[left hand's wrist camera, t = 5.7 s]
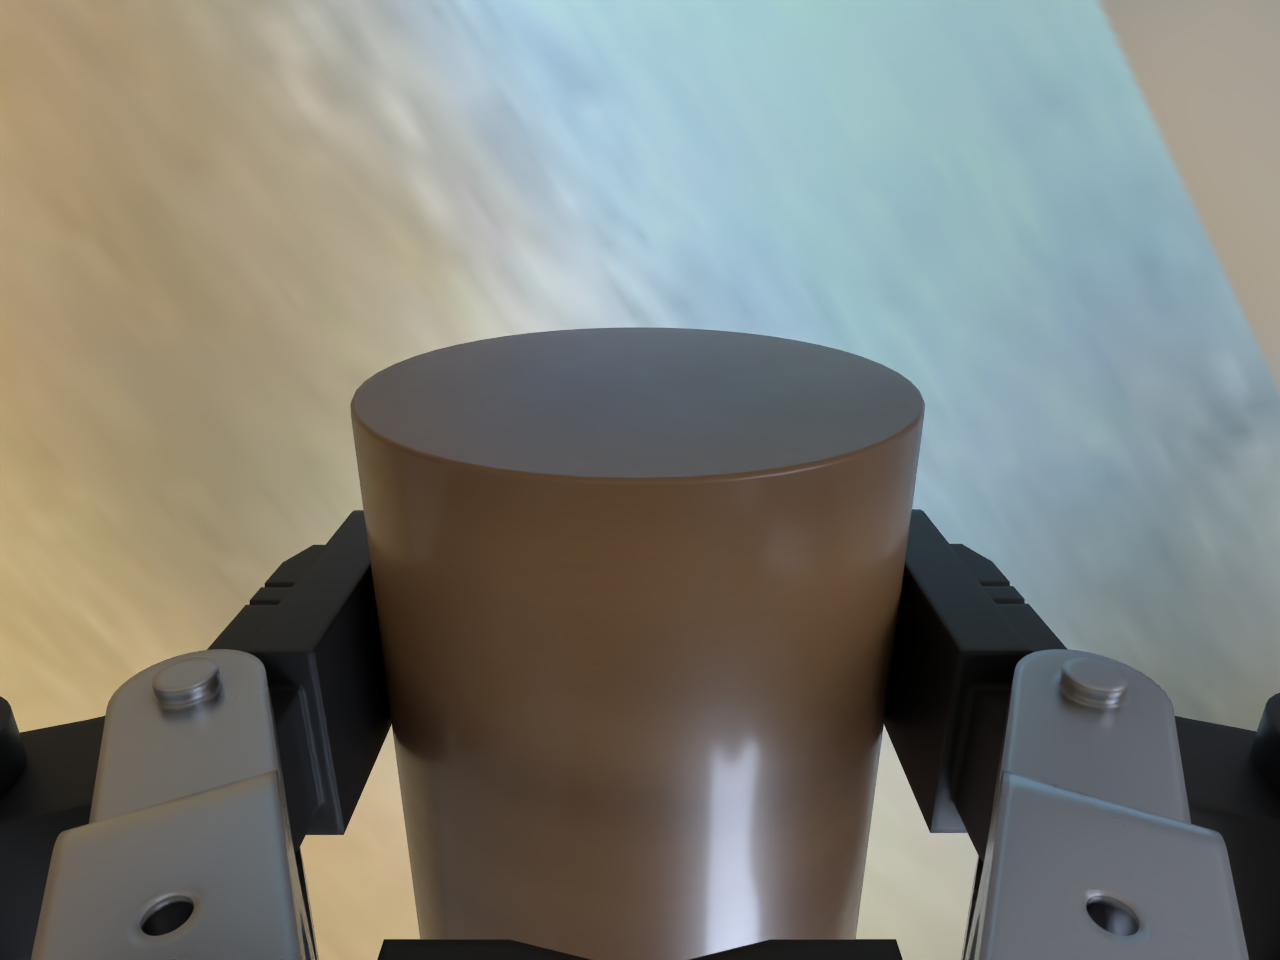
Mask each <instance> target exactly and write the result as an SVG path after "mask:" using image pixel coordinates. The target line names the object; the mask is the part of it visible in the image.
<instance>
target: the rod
mask: <svg viewBox="0 0 1280 960" xmlns="http://www.w3.org/2000/svg"><path fill="white" fill-rule="evenodd" d="M924 409H925V403H924V400H923V398H922V396H921V393H920V391H919V390H918V389H917V388H916V387H915V386H914V385H913V383H912V382H911V381H909V380H908V379H906V378H905V377H903V376H902V375H901V374H899V373H898V372H896V371H894V370H892V369H890V368H888V367H886V366H884V365H882V364H879V363H876V362H874V361H871V360H869V359H866V358H863V357H861V356H858V355H854V354H851V353H848V352H844V351H841V350H837V349H833V348H829V347H825V346H821V345H817V344H811V343H806V342H801V341H796V340H790V339H784V338H778V337H771V336H764V335H756V334H748V333H738V332H727V331H716V330H700V329H680V328H596V329H575V330H560V331H548V332H538V333H528V334H520V335H512V336H504V337H498V338H492V339H485V340H479V341H474V342H469V343H464V344H459V345H455V346H451V347H446V348H442V349H438V350H434V351H431V352H428V353H424V354H421V355H418V356H415V357H412V358H409V359H407V360H404V361H402V362H399V363H396V364H394V365H392V366H390V367H388V368H386V369H384V370H382V371H380V372H378V373H376V374H375V375H373V376H372V377H370V378H369V379H368V380H366V381H365V382H364V383H363V384H362V385H361V386H360V387H359V388H358V389H357V390H356V392H355V394H354V396H353V399H352V401H351V418H352V426H353V433H354V441H355V448H356V456H357V463H358V471H359V479H360V486H361V494H362V501H363V509H364V516H365V524H366V532H367V539H368V547H369V554H370V562H371V569H372V577H373V584H374V592H375V600H376V607H377V615H378V622H379V630H380V637H381V645H382V653H383V660H384V668H385V675H386V683H387V690H388V698H389V706H390V713H391V721H392V728H393V736H394V743H395V751H396V758H397V766H398V774H399V781H400V789H401V796H402V804H403V811H404V819H405V827H406V834H407V842H408V849H409V857H410V864H411V872H412V880H413V887H414V895H415V902H416V910H417V917H418V925H419V933H420V939H510V940H514V941H518V942H522V943H526V944H530V945H534V946H538V947H542V948H547V949H551V950H555V951H559V952H563V953H567V954H571V955H575V956H579V957H583V958H587V959H591V960H689V959H693V958H697V957H701V956H705V955H709V954H713V953H717V952H721V951H725V950H729V949H733V948H738V947H742V946H746V945H750V944H754V943H758V942H762V941H766V940H770V939H856V931H857V923H858V916H859V908H860V900H861V893H862V885H863V877H864V870H865V862H866V855H867V847H868V839H869V832H870V824H871V816H872V809H873V801H874V794H875V786H876V778H877V771H878V763H879V755H880V748H881V740H882V732H883V725H884V717H885V710H886V702H887V694H888V687H889V679H890V671H891V664H892V656H893V649H894V641H895V633H896V626H897V618H898V610H899V603H900V595H901V587H902V580H903V572H904V565H905V557H906V549H907V542H908V534H909V526H910V519H911V511H912V504H913V496H914V488H915V481H916V473H917V465H918V458H919V450H920V442H921V435H922V427H923V420H924Z"/></svg>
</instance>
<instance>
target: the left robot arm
mask: <svg viewBox="0 0 1280 960" xmlns="http://www.w3.org/2000/svg"><path fill="white" fill-rule="evenodd" d="M391 724H392V721H391V713H390V706H389V698H388V690H387V683H386V675H385V668H384V660H383V653H382V645H381V637H380V630H379V622H378V615H377V607H376V600H375V592H374V584H373V577H372V569H371V562H370V554H369V547H368V539H367V532H366V524H365V516H364V510H355V511H353V512H352V513H351V514H350V515H349V516H348V518H347V519H346V520H345V521H344V523H343V524H342V525H341V526H340V528H339V529H338V530H337V531H336V533H335V534H334V535H333V536H332V538H331V539H330V540H329V541H328V543H327V544H326V545H313V546H311V547H309V548H307V549H306V550H304V551H302V552H300V553H299V554H297V555H295V556H293V557H292V558H290V559H288V560H286V561H285V562H283V563H282V564H281V565H280V566H279V568H278V569H277V570H276V571H275V572H274V573H273V574H272V576H271V577H270V578H269V579H268V580H267V581H266V582H265V587H261V588H260V589H259V591H258V592H257V593H256V594H255V595H254V596H253V597H252V599H251V600H250V605H245V607H244V608H243V609H242V610H241V611H240V612H239V614H238V615H237V616H236V617H235V618H234V619H233V620H232V622H231V623H230V624H229V625H228V626H227V627H226V628H225V630H224V631H223V632H222V633H221V634H220V635H219V637H218V638H217V639H216V640H215V641H214V642H213V643H212V645H211V646H210V647H209V648H208V649H207V650H204V651H198V652H192V653H188V654H184V655H180V656H176V657H173V658H170V659H167V660H165V661H162V662H160V663H157V664H155V665H153V666H150V667H149V668H147V669H145V670H143V671H141V672H139V673H138V674H136V675H135V676H133V677H132V678H130V679H129V680H128V681H126V682H125V683H124V684H123V685H121V686H120V687H119V688H118V690H117V691H116V692H115V693H114V694H113V696H112V697H111V699H110V700H109V703H108V706H107V710H106V716H103V717H98V718H94V719H89V720H85V721H79V722H74V723H69V724H63V725H58V726H53V727H48V728H42V729H37V730H32V731H27V732H21V733H19V730H18V727H17V724H16V721H15V718H14V715H13V712H12V709H11V706H10V705H9V703H8V702H7V701H6V700H5V699H4V698H2V697H0V960H319V958H318V952H317V945H316V939H315V933H314V926H313V920H312V913H311V907H310V900H309V894H308V888H307V881H306V875H305V870H304V865H303V860H302V855H301V849H300V845H301V843H302V841H303V839H304V837H305V835H344V833H345V830H346V828H347V826H348V823H349V821H350V819H351V816H352V814H353V812H354V810H355V807H356V805H357V803H358V800H359V798H360V796H361V793H362V791H363V789H364V786H365V784H366V782H367V780H368V777H369V775H370V773H371V770H372V768H373V766H374V763H375V761H376V759H377V756H378V754H379V752H380V750H381V747H382V745H383V743H384V740H385V738H386V736H387V733H388V731H389V729H390V726H391ZM884 725H885V727H886V730H887V732H888V734H889V737H890V739H891V741H892V744H893V746H894V749H895V751H896V753H897V756H898V758H899V760H900V763H901V765H902V767H903V770H904V772H905V774H906V777H907V779H908V781H909V784H910V786H911V788H912V791H913V793H914V796H915V798H916V800H917V803H918V805H919V807H920V810H921V812H922V814H923V817H924V819H925V821H926V824H927V826H928V828H929V831H930V833H968V834H969V836H970V838H971V840H972V843H973V845H974V847H975V849H976V851H977V853H978V860H977V865H976V870H975V875H974V881H973V888H972V894H971V900H970V907H969V913H968V920H967V926H966V933H965V939H964V945H963V952H962V958H961V960H1280V693H1278V694H1275V695H1274V696H1272V697H1271V698H1270V699H1269V700H1268V702H1267V703H1266V706H1265V709H1264V712H1263V715H1262V718H1261V721H1260V724H1259V727H1258V730H1257V732H1256V731H1250V730H1245V729H1240V728H1235V727H1229V726H1224V725H1219V724H1213V723H1208V722H1203V721H1198V720H1192V719H1187V718H1182V717H1178V716H1174V710H1173V706H1172V703H1171V700H1170V699H1169V697H1168V696H1167V694H1166V693H1165V692H1164V691H1163V690H1162V688H1161V687H1160V686H1159V685H1157V684H1156V683H1155V682H1154V681H1152V680H1151V679H1150V678H1148V677H1147V676H1145V675H1144V674H1142V673H1141V672H1139V671H1137V670H1135V669H1133V668H1131V667H1130V666H1127V665H1125V664H1123V663H1120V662H1118V661H1115V660H1113V659H1110V658H1107V657H1104V656H1100V655H1096V654H1092V653H1088V652H1082V651H1076V650H1068V649H1067V648H1066V647H1065V646H1064V645H1063V644H1062V642H1061V641H1060V640H1059V639H1058V638H1057V637H1056V635H1055V634H1054V633H1053V632H1052V631H1051V630H1050V629H1049V627H1048V626H1047V625H1046V624H1045V623H1044V622H1043V620H1042V619H1041V618H1040V617H1039V616H1038V615H1037V613H1036V612H1035V611H1034V610H1033V609H1032V608H1031V606H1030V605H1029V604H1025V603H1024V598H1023V597H1022V596H1021V595H1020V594H1019V592H1018V591H1017V590H1016V589H1015V588H1014V587H1013V586H1010V582H1009V581H1008V580H1007V578H1006V577H1005V576H1004V575H1003V574H1002V573H1001V571H1000V570H999V569H998V568H997V567H996V566H995V564H994V563H993V562H992V561H990V560H988V559H987V558H985V557H983V556H981V555H980V554H978V553H976V552H975V551H973V550H971V549H969V548H968V547H966V546H964V545H962V544H949V543H948V542H947V541H946V539H945V538H944V537H943V536H942V534H941V533H940V532H939V530H938V529H937V528H936V527H935V525H934V524H933V523H932V522H931V520H930V519H929V518H928V517H927V515H926V514H925V513H924V512H923V511H922V510H912V511H911V519H910V526H909V534H908V542H907V549H906V557H905V565H904V572H903V580H902V587H901V595H900V603H899V610H898V618H897V626H896V633H895V641H894V649H893V656H892V664H891V671H890V679H889V687H888V694H887V702H886V710H885V717H884ZM378 960H591V959H587V958H583V957H579V956H575V955H571V954H567V953H563V952H559V951H555V950H551V949H547V948H542V947H538V946H534V945H530V944H526V943H522V942H518V941H514V940H510V939H384V941H383V944H382V947H381V950H380V953H379V957H378ZM689 960H902V957H901V953H900V950H899V947H898V944H897V941H896V939H770V940H766V941H762V942H758V943H754V944H750V945H746V946H742V947H738V948H733V949H729V950H725V951H721V952H717V953H713V954H709V955H705V956H701V957H697V958H693V959H689Z"/></svg>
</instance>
